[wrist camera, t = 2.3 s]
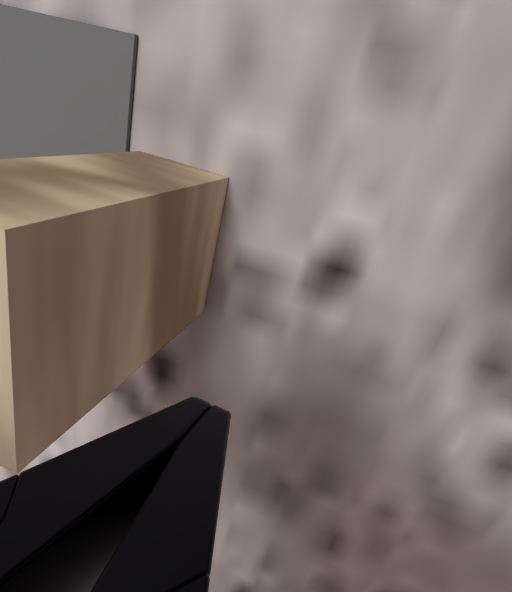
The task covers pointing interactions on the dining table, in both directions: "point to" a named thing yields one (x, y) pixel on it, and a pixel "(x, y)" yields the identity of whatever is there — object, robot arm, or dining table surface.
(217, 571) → the dining table surface
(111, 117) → the placemat
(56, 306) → the oak block
